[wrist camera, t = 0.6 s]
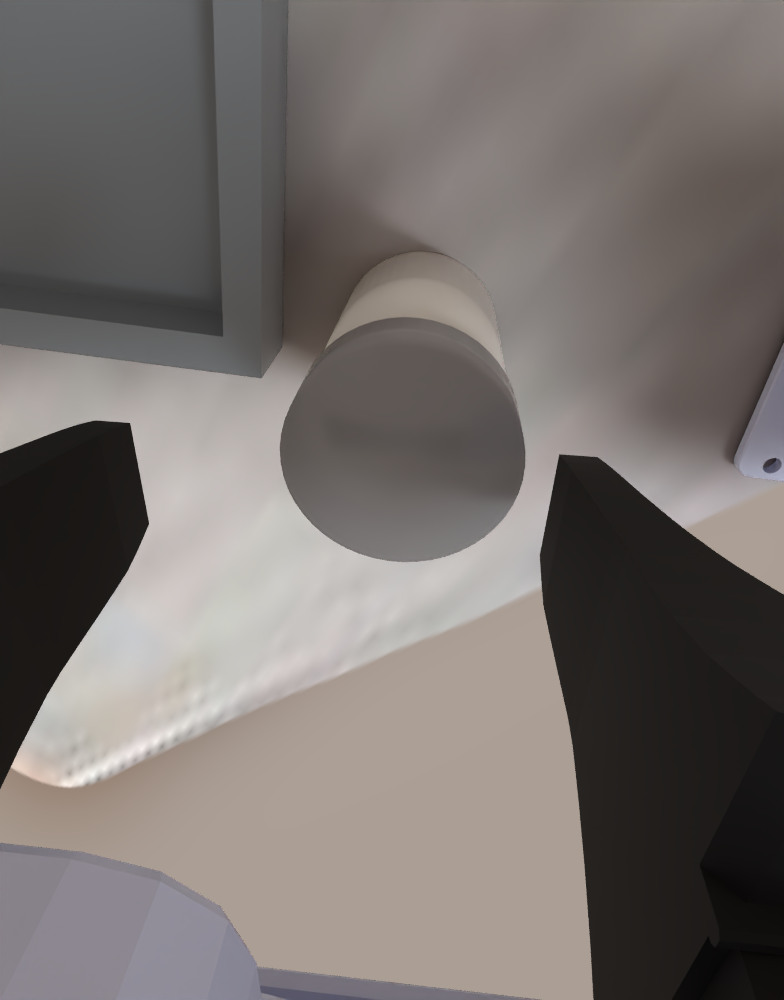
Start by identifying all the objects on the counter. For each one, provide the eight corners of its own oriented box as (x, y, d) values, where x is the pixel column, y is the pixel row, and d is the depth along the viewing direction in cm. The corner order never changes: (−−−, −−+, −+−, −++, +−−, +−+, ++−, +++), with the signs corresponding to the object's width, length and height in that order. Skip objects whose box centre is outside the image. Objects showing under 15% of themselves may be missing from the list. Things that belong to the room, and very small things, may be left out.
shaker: (514, 258, 18) (551, 363, 11) (484, 413, 20) (499, 575, 14) (346, 237, 18) (281, 328, 11) (336, 394, 21) (278, 546, 14)
